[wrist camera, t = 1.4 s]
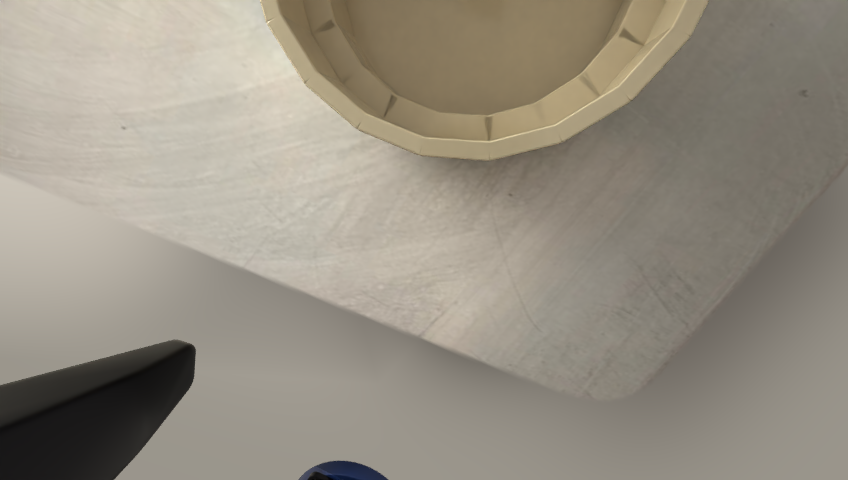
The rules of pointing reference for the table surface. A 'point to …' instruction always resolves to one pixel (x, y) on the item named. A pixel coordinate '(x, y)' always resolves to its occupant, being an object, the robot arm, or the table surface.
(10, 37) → the table surface
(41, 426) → the robot arm
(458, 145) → the bowl
